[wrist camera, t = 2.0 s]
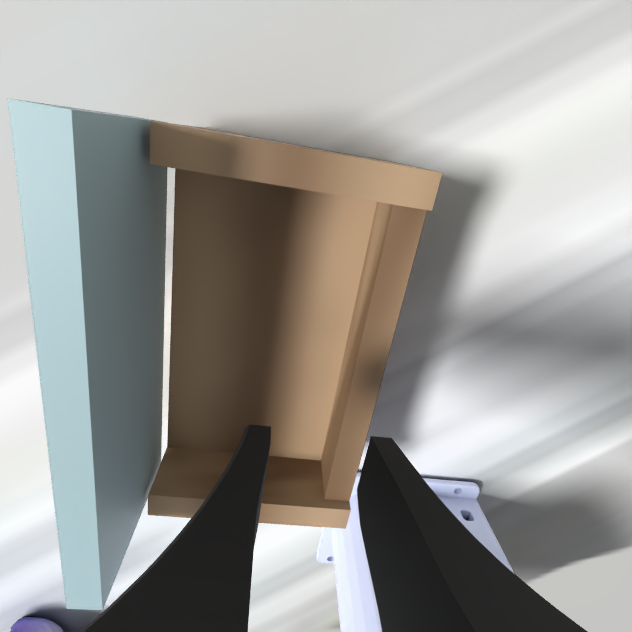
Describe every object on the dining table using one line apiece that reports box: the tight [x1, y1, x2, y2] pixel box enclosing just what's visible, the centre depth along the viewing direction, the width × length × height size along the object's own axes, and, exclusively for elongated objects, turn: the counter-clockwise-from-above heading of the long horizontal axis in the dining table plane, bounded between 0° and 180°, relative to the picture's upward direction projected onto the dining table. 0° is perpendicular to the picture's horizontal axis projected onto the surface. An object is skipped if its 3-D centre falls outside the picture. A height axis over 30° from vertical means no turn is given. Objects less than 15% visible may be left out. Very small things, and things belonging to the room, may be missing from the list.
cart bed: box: [148, 121, 442, 529], centre depth 18 cm, size 9×16×6 cm, turn 171°
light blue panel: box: [7, 98, 167, 610], centre depth 14 cm, size 1×16×7 cm, turn 170°
